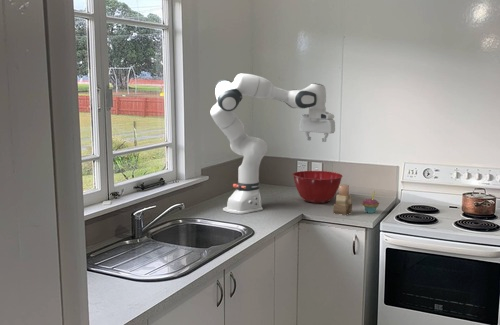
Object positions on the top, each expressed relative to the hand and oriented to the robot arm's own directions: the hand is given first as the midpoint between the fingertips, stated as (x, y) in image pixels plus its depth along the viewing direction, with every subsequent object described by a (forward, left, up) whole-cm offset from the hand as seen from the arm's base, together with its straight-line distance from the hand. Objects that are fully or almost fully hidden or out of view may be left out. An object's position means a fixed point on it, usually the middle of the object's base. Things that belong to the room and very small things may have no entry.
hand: (316, 141), depth 272 cm
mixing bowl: (+18, +10, -37) cm, 42 cm away
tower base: (+2, -16, -37) cm, 40 cm away
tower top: (+2, -16, -32) cm, 36 cm away
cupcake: (+13, -26, -37) cm, 47 cm away
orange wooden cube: (+2, -16, -27) cm, 31 cm away
